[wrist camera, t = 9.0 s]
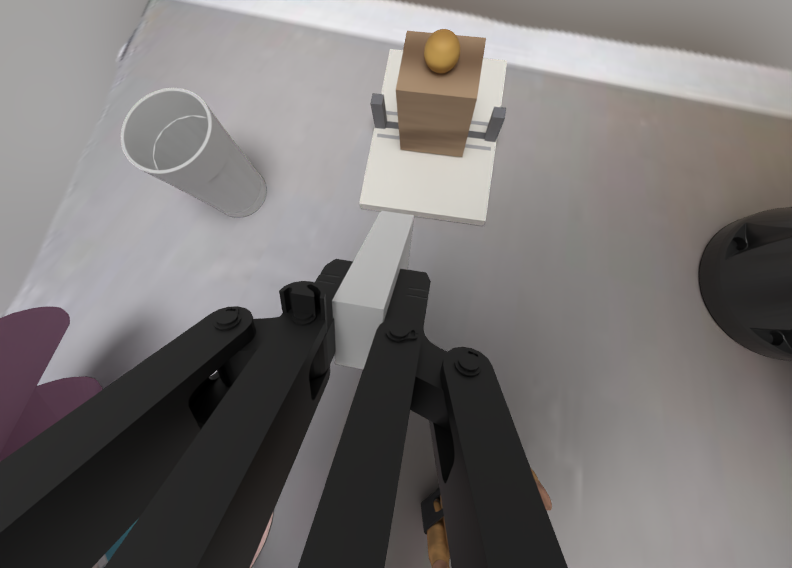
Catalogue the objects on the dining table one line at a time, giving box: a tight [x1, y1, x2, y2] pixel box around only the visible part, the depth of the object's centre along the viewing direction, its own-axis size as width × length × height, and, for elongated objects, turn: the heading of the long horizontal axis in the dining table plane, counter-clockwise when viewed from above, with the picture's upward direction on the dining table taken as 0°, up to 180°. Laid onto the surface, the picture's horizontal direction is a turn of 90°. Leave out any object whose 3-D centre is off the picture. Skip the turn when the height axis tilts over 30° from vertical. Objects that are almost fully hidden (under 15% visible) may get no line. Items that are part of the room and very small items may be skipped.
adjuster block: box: [396, 29, 486, 157], centre depth 32 cm, size 6×7×12 cm
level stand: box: [359, 49, 507, 226], centre depth 36 cm, size 20×14×6 cm
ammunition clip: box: [421, 469, 552, 568], centre depth 27 cm, size 11×2×12 cm, turn 128°
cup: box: [121, 88, 266, 218], centre depth 33 cm, size 8×8×12 cm
